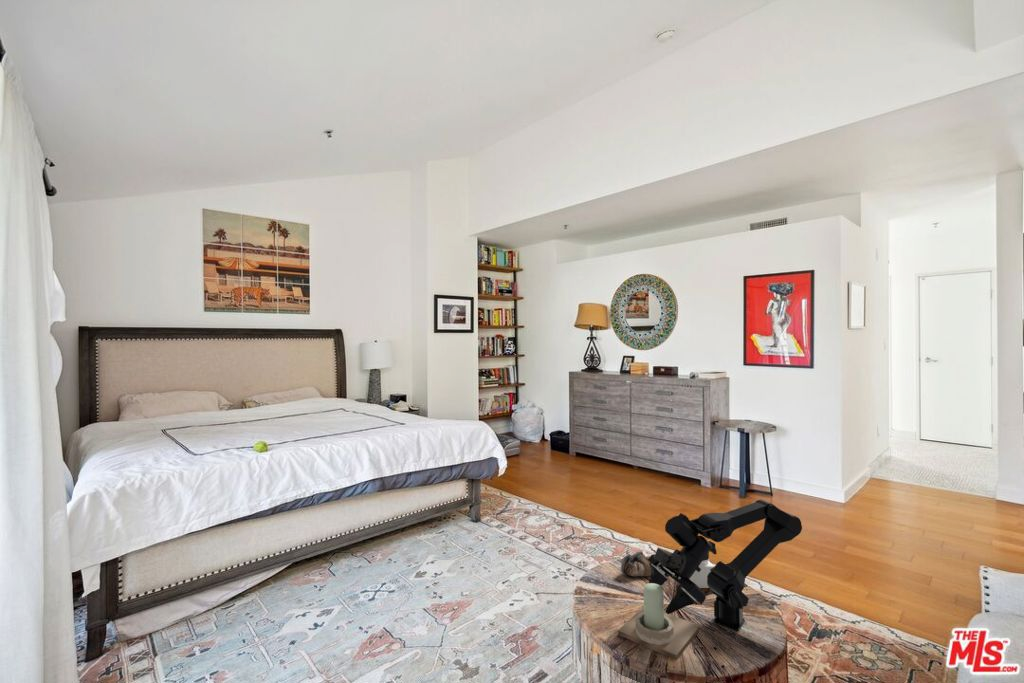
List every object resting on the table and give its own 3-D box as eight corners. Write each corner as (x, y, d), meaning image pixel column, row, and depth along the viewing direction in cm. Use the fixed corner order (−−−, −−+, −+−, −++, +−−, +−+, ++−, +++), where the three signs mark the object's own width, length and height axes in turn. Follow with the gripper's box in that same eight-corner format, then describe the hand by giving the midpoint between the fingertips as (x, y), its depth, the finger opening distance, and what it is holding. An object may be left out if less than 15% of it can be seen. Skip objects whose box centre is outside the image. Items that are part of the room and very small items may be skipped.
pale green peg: (662, 628, 128) (661, 583, 128) (665, 639, 124) (664, 593, 124) (643, 626, 129) (642, 582, 129) (645, 638, 124) (645, 592, 124)
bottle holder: (699, 630, 129) (699, 614, 129) (676, 660, 117) (676, 643, 117) (644, 609, 140) (644, 594, 140) (618, 634, 128) (617, 619, 128)
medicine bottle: (714, 589, 151) (714, 551, 151) (692, 589, 151) (691, 551, 151) (706, 578, 158) (705, 541, 158) (684, 578, 158) (683, 541, 158)
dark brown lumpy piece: (618, 576, 160) (643, 586, 152) (617, 555, 160) (642, 564, 153) (638, 565, 168) (664, 574, 160) (637, 545, 168) (663, 553, 161)
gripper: (652, 525, 137) (619, 569, 134) (694, 552, 119) (657, 604, 116) (677, 548, 139) (644, 592, 136) (721, 578, 121) (685, 630, 118)
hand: (656, 603), depth 127 cm, fingers open, 9 cm apart
